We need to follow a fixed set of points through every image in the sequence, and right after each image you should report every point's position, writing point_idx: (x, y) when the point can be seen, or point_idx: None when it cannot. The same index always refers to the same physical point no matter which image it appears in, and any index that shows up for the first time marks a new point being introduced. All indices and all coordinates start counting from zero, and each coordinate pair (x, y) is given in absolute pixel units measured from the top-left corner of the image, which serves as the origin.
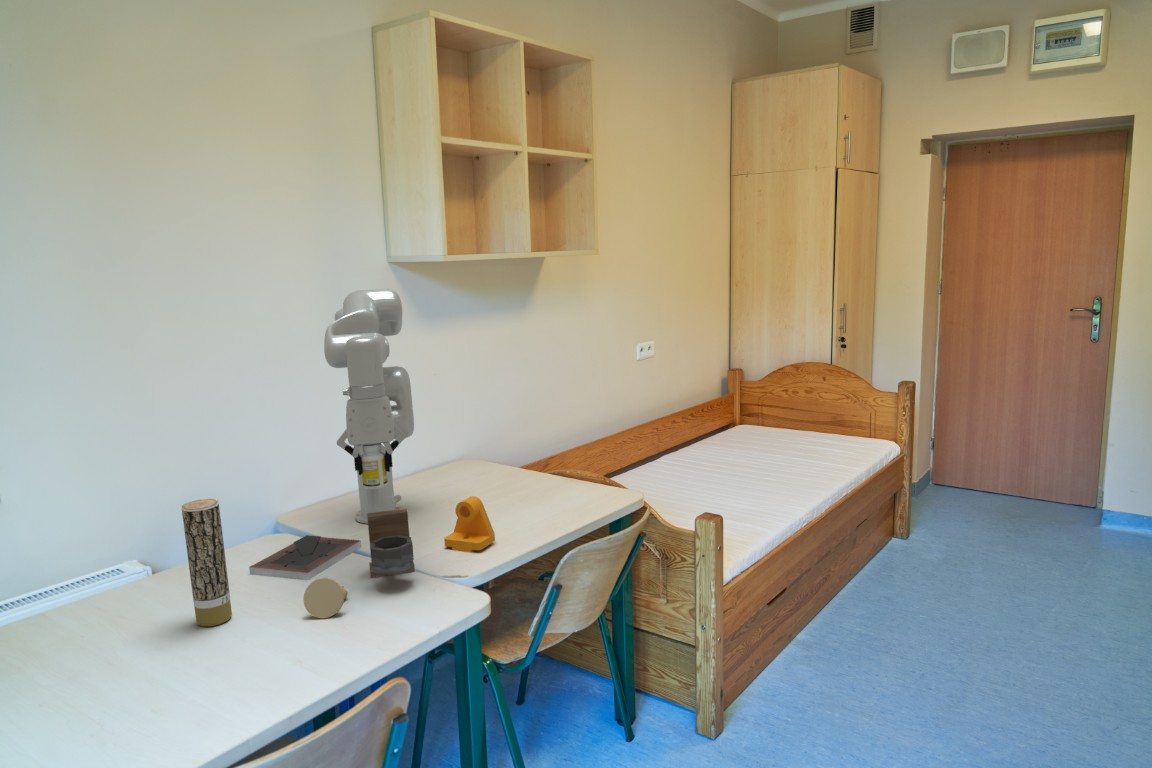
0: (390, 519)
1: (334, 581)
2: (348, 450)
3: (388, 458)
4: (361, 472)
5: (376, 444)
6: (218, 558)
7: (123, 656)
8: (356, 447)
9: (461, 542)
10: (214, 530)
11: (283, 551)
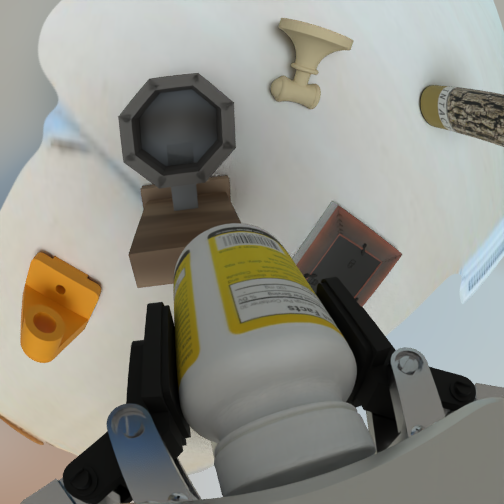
0: (180, 240)
1: (307, 23)
2: (452, 382)
3: (144, 370)
4: (324, 286)
5: (262, 484)
6: (496, 98)
7: (478, 69)
8: (429, 411)
9: (65, 274)
10: None
11: (359, 301)
